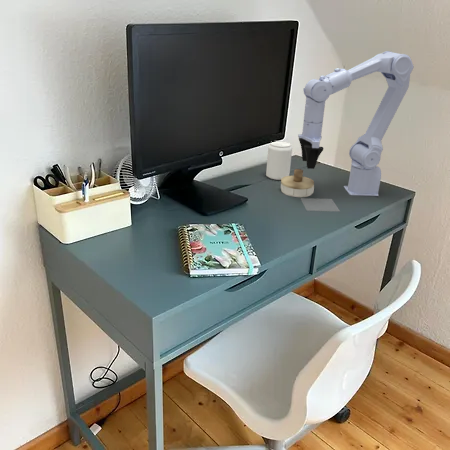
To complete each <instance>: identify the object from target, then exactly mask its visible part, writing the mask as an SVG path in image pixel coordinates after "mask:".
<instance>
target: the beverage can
mask: <svg viewBox="0 0 450 450" xmlns="http://www.w3.org/2000/svg"><path fill="white" fill-rule="evenodd" d="M275 141H276V142H272V141H271V142H272V143H269V145H268V147H267V160H266V173H265V175H266V177H267V178H269V179H271V180H275V181H281V179H282V178H283V177H285V176H290V172H291V163H292V154H293V147H292V143H291V142H289V141H284V140H275Z"/></svg>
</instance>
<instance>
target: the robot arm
mask: <svg viewBox="0 0 450 450" xmlns="http://www.w3.org/2000/svg"><path fill="white" fill-rule="evenodd" d="M413 71H414V64H413V61H412V59H411V57H410V55H409V54H406V53H398V52H393V51H392V50H391V51H390V50H386V51H383V52H381V53H377V54H376V55H375V56H373V57H371V58H369V59H367V60H365V61H362V62H361V63H358V64H357V65H355V66H353V67H352V68H350V69H345V68H339V67H337V68H334V70H333V72H331V73H328V74H326V75H322V74H321V75H320V76H319V79H318V78H312V79H310V80H308V82H307V83H306V84H305V86H304V88H303V91H302V92H303V94H304V96H305V106H304V115H303V125H302V134H297V137H298V140H299V144H300V150H301V159H302V161H303V162H306V168H307V169H308V170H309V169H310V170H312V169H313V170H314V169H315V167H316V165H317V162H318V159H319V158H320V156H321V154H322V152H323V151H324V147H323V146H320V144H321V140H322V134H323V133H322V131H323V124H324V115H325V107H326V106H325V105H326V101H328V99H329V97H330V96H331V95H334V94H336V93H338V92H340V91H343V90H345V89H347V88H349V87H350V86H351V84H352V81H353V82H354V81H355V80H357V79H360V78H362V77H366V76H368V75H372V74H373V73H376V72H378V73H381V74H382V75H383V77H384V78H385V80H386V83H387V86H388V87H387V90H386V91H385V94H384V95H383V97H382V99H381V101H380V103H379V105H378V107H377V110H376V111H375V113H374V115H373V117H372V119H371V121H370V123H369V125H368V126H367V129H366V131H365V133H363V134H362V135H361V136H359V137H357V140H356V141H355V142H354V143H353V144H352V145H351V147H350V148H349V153H348V154H349V157H350V159H351V165H350V172H349V178H348V184H347V185H343V188H344V189H345V191H346V192H347V193H348V195H350V196H371V197H373V196H375V197H379V189H380V186H381V179H382V170H381V167H380V166H378V165H379V164H380V162H381V156H382V155H381V154H382V152H383V150H384V147H383V143H382V142H383V138H384V137H385V135H386V132H387V130H388V128H390V125H391V123H392V121H393V119H394V117H395V115H396V113H397V111H398V109H399V107H400V105H401V103H402V101H403V99H404V97H405V95H406V93H407V92H408V90H409V87H410V81H411V73H412V72H413Z"/></svg>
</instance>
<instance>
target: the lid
mask: <svg viewBox="0 0 450 450" xmlns="http://www.w3.org/2000/svg"><path fill="white" fill-rule="evenodd" d="M303 175H304V170H303V169H301V168H296V169H294V171H293V175H289V176H285V177H283V178H282V179H281V180H280V185H281V184H282V185H284V186H285V187H288V188H292V189H310V188H312V187H313V186H314V187H315V181H314V180H313V179H312V178H310V177H308V176H307V177H306V176H303Z"/></svg>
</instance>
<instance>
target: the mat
mask: <svg viewBox="0 0 450 450" xmlns="http://www.w3.org/2000/svg"><path fill="white" fill-rule="evenodd" d="M299 198H300V201H301V202H302V204H303V206H304V209H305V211H306V212H341V210H340V209H339V208H338V206H337V205H336V203H335V202H334V199H332V198H309V197H308V198H307V197H299Z"/></svg>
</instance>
